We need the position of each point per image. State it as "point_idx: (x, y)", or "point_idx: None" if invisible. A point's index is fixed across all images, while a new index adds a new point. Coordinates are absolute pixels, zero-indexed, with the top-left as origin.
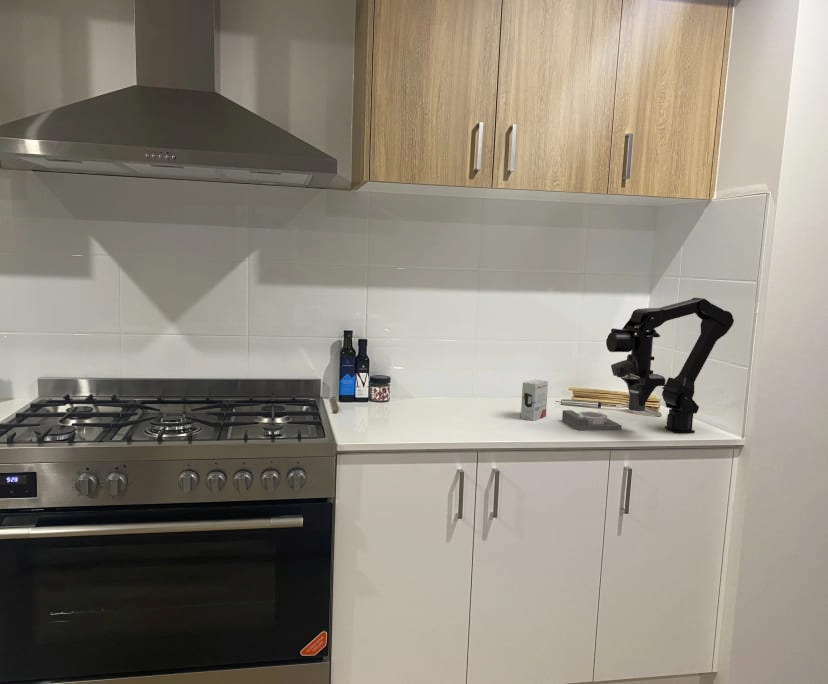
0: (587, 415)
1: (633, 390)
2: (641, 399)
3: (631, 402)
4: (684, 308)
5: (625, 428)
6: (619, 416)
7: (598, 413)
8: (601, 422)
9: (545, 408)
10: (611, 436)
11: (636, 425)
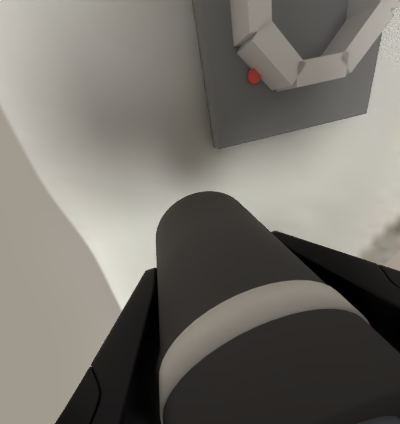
0: None
1: (212, 351)
2: (119, 324)
3: (190, 224)
4: None
5: (232, 168)
6: (373, 187)
7: (347, 47)
8: (237, 33)
9: None
10: (68, 47)
11: (271, 215)
